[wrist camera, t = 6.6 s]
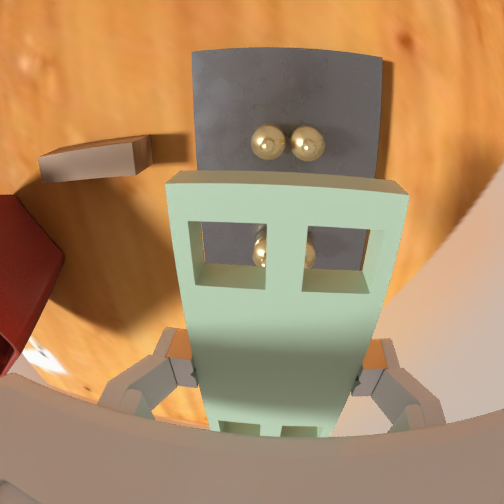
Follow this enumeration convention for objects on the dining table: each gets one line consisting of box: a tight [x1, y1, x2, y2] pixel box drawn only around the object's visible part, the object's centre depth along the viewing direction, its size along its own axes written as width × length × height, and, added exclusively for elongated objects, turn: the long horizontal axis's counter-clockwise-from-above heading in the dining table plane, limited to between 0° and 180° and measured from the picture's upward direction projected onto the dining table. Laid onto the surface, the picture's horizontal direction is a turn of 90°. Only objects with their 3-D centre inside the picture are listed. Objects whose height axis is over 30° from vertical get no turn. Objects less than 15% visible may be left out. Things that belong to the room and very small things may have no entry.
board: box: [165, 170, 410, 437], centre depth 11 cm, size 14×6×1 cm, turn 0°
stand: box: [38, 135, 153, 184], centre depth 26 cm, size 3×12×4 cm, turn 90°
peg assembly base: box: [192, 48, 382, 271], centre depth 25 cm, size 26×16×6 cm, turn 0°
